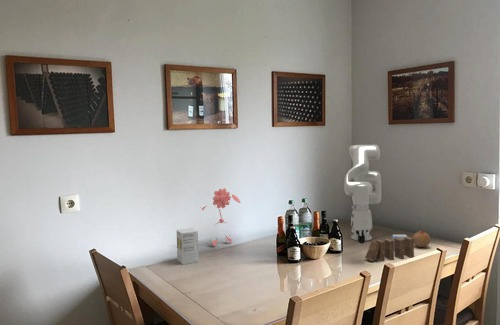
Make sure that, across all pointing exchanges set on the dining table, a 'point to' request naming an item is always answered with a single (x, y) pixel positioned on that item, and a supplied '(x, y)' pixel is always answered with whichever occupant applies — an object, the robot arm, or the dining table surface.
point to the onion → (421, 239)
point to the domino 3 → (389, 249)
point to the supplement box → (187, 246)
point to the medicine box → (398, 236)
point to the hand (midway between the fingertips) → (361, 242)
